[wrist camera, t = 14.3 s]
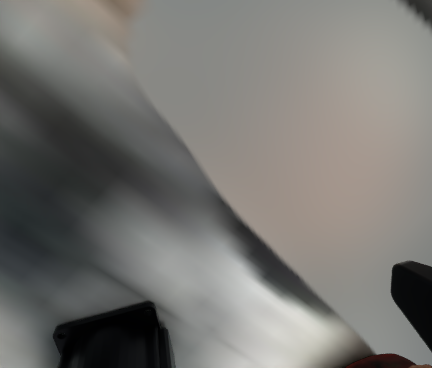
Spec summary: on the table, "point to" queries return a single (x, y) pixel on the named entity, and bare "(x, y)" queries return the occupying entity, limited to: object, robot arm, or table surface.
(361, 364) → the decorative planter
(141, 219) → the table surface
